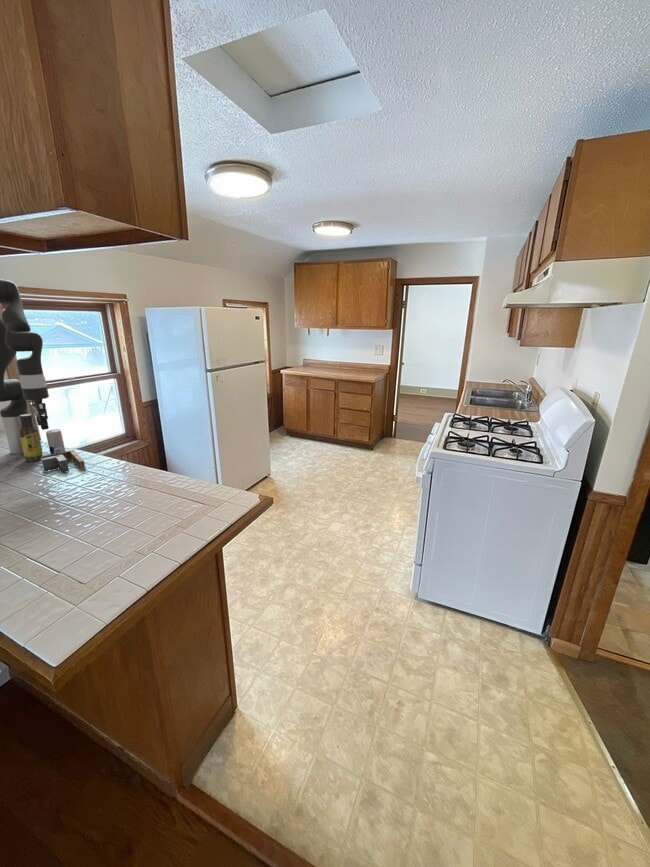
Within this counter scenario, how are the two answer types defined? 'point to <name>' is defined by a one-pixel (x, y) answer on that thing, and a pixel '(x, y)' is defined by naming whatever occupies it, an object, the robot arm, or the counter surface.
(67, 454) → the brown angled frame
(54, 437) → the energy drink
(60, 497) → the counter surface
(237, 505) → the counter surface
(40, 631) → the counter surface
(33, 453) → the sauce bottle
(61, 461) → the bracket
